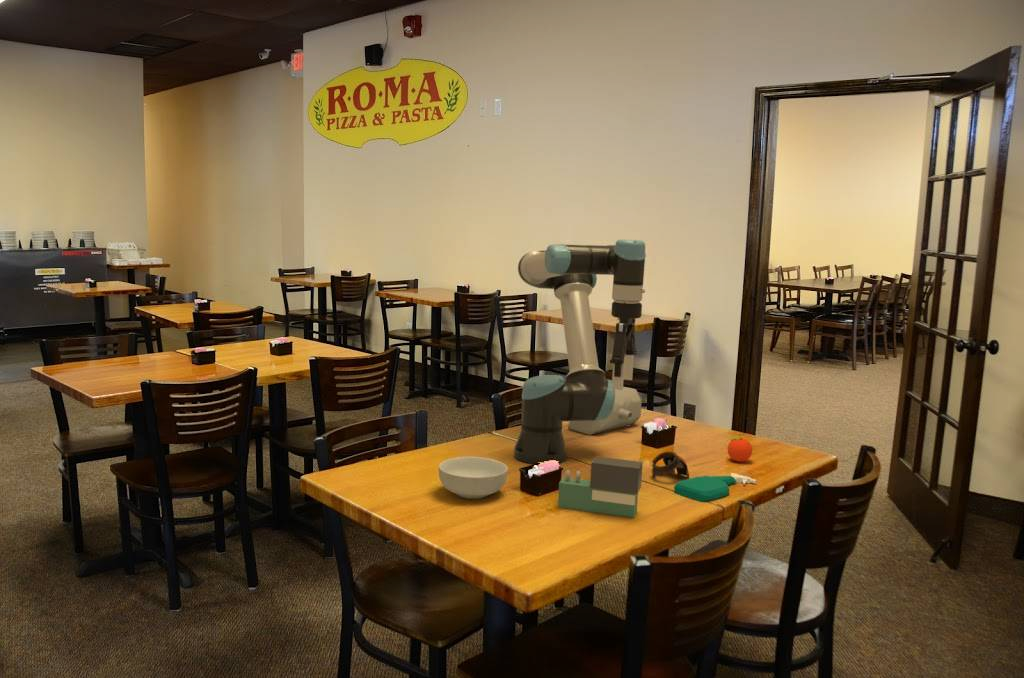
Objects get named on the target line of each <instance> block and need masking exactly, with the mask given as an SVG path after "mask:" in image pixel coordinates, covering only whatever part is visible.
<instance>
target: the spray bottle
mask: <svg viewBox="0 0 1024 678" xmlns="http://www.w3.org/2000/svg"><path fill="white" fill-rule="evenodd" d="M689 478H690V477H689ZM757 480H758V479H754V478H751V477H749V476H745V475H741V474H739V473H736V472H735V473H734V472H730V474H729V475H716V476H715V475H712V476H710V475H709V476H708V475H702V476H696V477H691V478H690V479H687V478H686V479H683V480H680V481H678V482H676V483H675V484H674V487H673V489H674V490H673V491H674V493H675V494H676V493H677V495H679V494H680V495H679V496H683V497H685V498H688V499H691V500H694V499H695V500H694V501H697V500H698V501H697V502H701V501H705V502H709V500H710V501H713V500H718V499H721V498H724V497H726V496H728V495H729V493H730V487H729V486H730V485H731V486H733V485H735V484H736V483H737V484H738V483H739V484H743V486H744V485H746V484H754V485H755V484H757V482H758V481H757Z"/></svg>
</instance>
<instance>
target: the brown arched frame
mask: <svg viewBox="0 0 1024 678" xmlns="http://www.w3.org/2000/svg"><path fill="white" fill-rule="evenodd" d="M661 460H662V462H663V463H664V465H662V466H661V465H660V466H659V465H656V464H657V463H658V462H659V461H661ZM651 463H652V469H651V474H652V478H655V479H656V477H663V476H669V475H674V476H675V475H676V474H677V475H678V476H685V477H687V478H686V479H690V473H689V469H688V468H689V467H688V465H687V463H686V461H685V459H684V458H683V457H681V456H680V455H678V453H677V452H675V451H672V450H668V451H664V452H661V453H659V454H657V455H656V456H655V457H654V458H653V460H652V462H651Z"/></svg>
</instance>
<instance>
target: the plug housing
mask: <svg viewBox="0 0 1024 678" xmlns="http://www.w3.org/2000/svg"><path fill="white" fill-rule="evenodd" d="M642 476H643V461H638V460H637V461H636V460H629V459H621V458H611V457H605V456H595V457H594V459H593V460H592V461H591V463H590V480H589V481H590V488H595V489H603V490H610V491H618V492H626V493H633V494H638V495H639V492H640V490H641V488H642Z"/></svg>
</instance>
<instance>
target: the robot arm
mask: <svg viewBox="0 0 1024 678" xmlns="http://www.w3.org/2000/svg"><path fill="white" fill-rule="evenodd" d="M646 255H647V254H646V242H645V241H644V240H642V239H639V240H638V239H617V240H616V241H615V244H607V245H593V244H586V245H583V244H564V243H558V244H556V243H555V244H549V245H548V246H547V247H546V250H534V251H530V252H528V253H525V254H524V255H523V256H521V258H520V260H519V262H518V265H517V271H518V276H519V277H520V279H521V280H522V282H524V283H526V284H527V285H529V286H531V287H533V288H536V289H537V288H538V289H548V290H553V293H554V297H555V298H556V299H558V300H559V301H560V307H561V308H560V309H561V316H562V324H563V330H564V339H565V345H566V353H567V362H568V370H569V372H568V373H567V374H566V376H565V379H564V376H562V375H559V374H542V375H537V376H532V377H530V378H527V379H526V380H525V381H524V382H523V385H522V386H523V387H522V390H521V391H522V393H521V418H520V419H521V421H520V422H521V423H520V432H519V434H518V436H517V437H518V438H517V441H516V443H515V446H514V449H513V457H514V458H515V460H517V459H518V461H519V462H522V461H523V462H522V463H526V462H528V463H527V464H532V463H538V462H544V461H549V460H556V461H559V462H560V463H562V462H565V461H566V460H567V457H568V456H567V453H568V450H567V447H566V443H565V440H564V439H565V438H564V435H563V432H562V431H563V429H562V428H563V422H570V421H595V420H605V419H607V418H608V417H609V416H610V414H611V413H612V410H613V407H614V402H615V389H616V390H623V387H624V380H626V381H633V374H634V373H633V372H634V356H637V353H638V351H637V350H636V349H637V348H636V319H640V318H641V317H642V312H643V310H642V309H643V304H642V302H641V301H643V294H645V293H646V290H645V289H644V288H643V287H644V278H645V276H644V275H645V263H646ZM597 275H603V276H604V275H609V276H610V275H611V276H613V279H612V280H613V281H612V292H611V299H612V300H613V301H612V302H611V314H610V315H611V316H612V317H613V318H619V321H618V322H616V324H615V334H614V341H613V348H612V349H613V350H612V355H611V359H609V364H612V377H611V379H608V378H607V379H606V372H605V371H604V370H603V369H601V368H600V367H599V362H598V361H599V360H598V353H597V347H596V340H595V333H594V327H593V320H592V319H593V318H592V313H591V307H590V299H589V297H590V295H591V294H592V292H593V289H594V288H595V286H596V285H597V279H598V277H597Z"/></svg>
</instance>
